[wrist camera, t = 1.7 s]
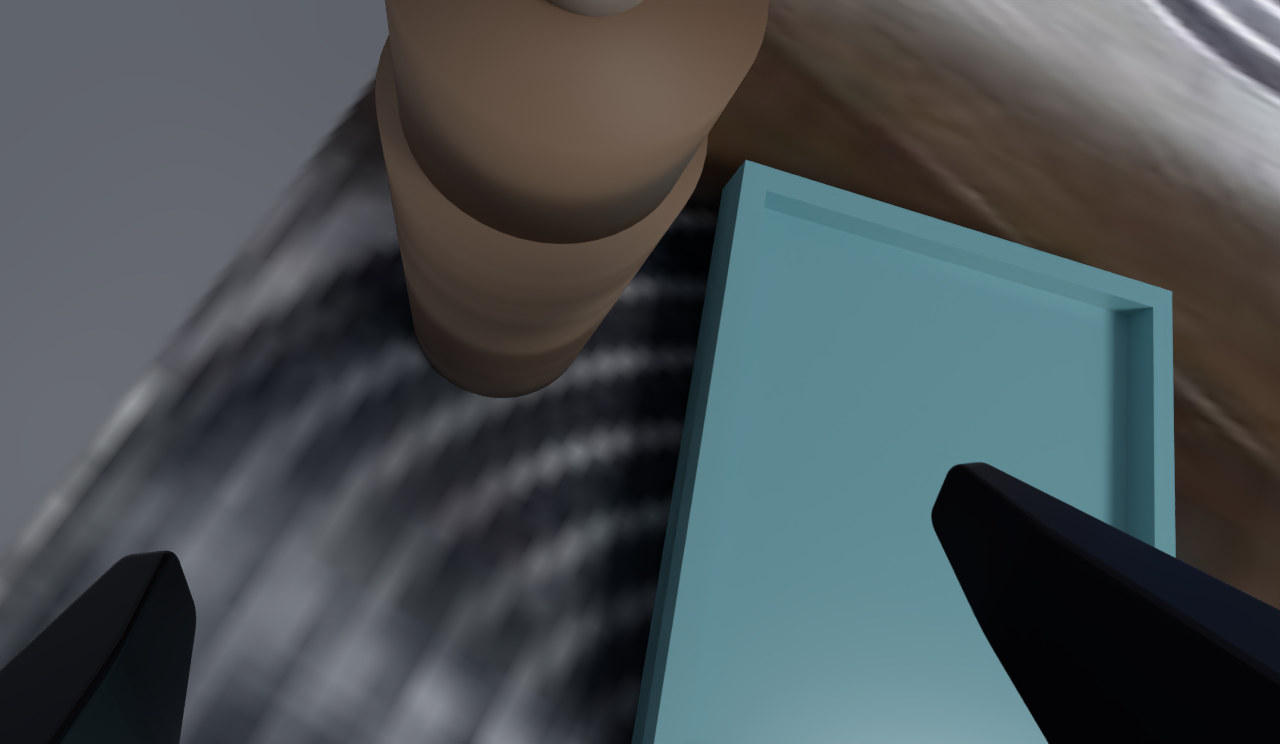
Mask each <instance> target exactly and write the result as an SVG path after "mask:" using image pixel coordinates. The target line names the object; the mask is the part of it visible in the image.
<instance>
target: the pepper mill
mask: <svg viewBox="0 0 1280 744" xmlns="http://www.w3.org/2000/svg"><path fill="white" fill-rule="evenodd" d="M385 4H386V11H387V20H388V28H389V36H388V38H387V40H386V43H385V45H384V48H383V50H382V53H381V56H380V61H379V65H378V69H377V74H376V87H375V100H376V112H377V119H378V125H379V131H380V137H381V142H382V148H383V154H384V159H385V165H386V171H387V177H388V182H389V188H390V194H391V199H392V205H393V211H394V217H395V222H396V228H397V234H398V239H399V245H400V251H401V257H402V262H403V268H404V274H405V279H406V285H407V291H408V297H409V302H410V308H411V314H412V319H413V325H414V330H415V334H416V337H417V340H418V343H419V345H420V348H421V349H422V351H423V353H424V355H425V357H426V358H427V359H428V361H429V362H430V363H431V365H432V366H433V367H434V368H435V369H436V370H437V371H438V372H439V373H440V374H441V375H442V376H443V377H444V378H446V379H447V380H448V381H450V382H451V383H453V384H454V385H456V386H458V387H460V388H462V389H464V390H466V391H469V392H471V393H474V394H478V395H481V396H487V397H493V398H510V397H518V396H523V395H527V394H530V393H533V392H536V391H538V390H540V389H542V388H544V387H546V386H548V385H549V384H551V383H552V382H554V381H555V380H556V379H558V378H559V377H560V376H561V375H562V374H563V373H564V372H565V371H566V370H567V369H568V367H569V366H570V365H571V364H572V362H573V361H574V360H575V358H576V357H577V355H578V354H579V353H580V351H581V350H582V348H583V347H584V346H585V344H586V343H587V341H588V340H589V339H590V337H591V336H592V334H593V333H594V332H595V330H596V329H597V327H598V326H599V325H600V323H601V322H602V320H603V319H604V318H605V316H606V315H607V313H608V312H609V311H610V309H611V308H612V307H613V305H614V304H615V302H616V301H617V300H618V298H619V297H620V295H621V294H622V293H623V291H624V290H625V288H626V287H627V286H628V284H629V283H630V281H631V280H632V279H633V277H634V276H635V274H636V273H637V272H638V270H639V269H640V267H641V266H642V265H643V263H644V262H645V260H646V259H647V258H648V256H649V255H650V254H651V252H652V251H653V249H654V248H655V247H656V245H657V244H658V242H659V241H660V240H661V238H662V237H663V235H664V234H665V233H666V231H667V230H668V228H669V227H670V226H671V224H672V223H673V221H674V220H675V219H676V217H677V216H678V214H679V213H680V212H681V210H682V209H683V207H684V206H685V205H686V203H687V201H688V200H689V198H690V196H691V195H692V193H693V191H694V190H695V187H696V185H697V183H698V180H699V178H700V175H701V173H702V169H703V165H704V161H705V157H706V152H707V143H708V133H709V131H710V130H711V128H712V127H713V125H714V124H715V122H716V120H717V119H718V117H719V116H720V114H721V113H722V111H723V110H724V108H725V107H726V105H727V103H728V102H729V100H730V99H731V97H732V96H733V94H734V93H735V91H736V89H737V88H738V86H739V85H740V83H741V82H742V80H743V79H744V77H745V75H746V74H747V72H748V71H749V69H750V67H751V66H752V64H753V62H754V61H755V58H756V56H757V54H758V51H759V49H760V46H761V44H762V41H763V37H764V33H765V29H766V25H767V18H768V6H769V0H385Z"/></svg>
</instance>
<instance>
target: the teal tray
mask: <svg viewBox="0 0 1280 744" xmlns="http://www.w3.org/2000/svg"><path fill="white" fill-rule="evenodd" d="M972 462H983V463H987V464H989V465H991V466H993V467H995V468H997V469H999V470H1001V471H1003V472H1005V473H1007V474H1009V475H1011V476H1013V477H1015V478H1017V479H1019V480H1021V481H1023V482H1025V483H1027V484H1029V485H1031V486H1033V487H1035V488H1037V489H1039V490H1041V491H1043V492H1045V493H1047V494H1049V495H1051V496H1053V497H1055V498H1057V499H1059V500H1061V501H1063V502H1065V503H1067V504H1069V505H1071V506H1073V507H1075V508H1077V509H1079V510H1081V511H1083V512H1085V513H1087V514H1089V515H1091V516H1093V517H1095V518H1097V519H1099V520H1101V521H1103V522H1105V523H1107V524H1109V525H1111V526H1113V527H1115V528H1117V529H1119V530H1121V531H1123V532H1125V533H1127V534H1129V535H1131V536H1133V537H1135V538H1137V539H1139V540H1141V541H1143V542H1145V543H1147V544H1149V545H1151V546H1153V547H1155V548H1157V549H1159V550H1161V551H1163V552H1165V553H1167V554H1169V555H1171V556H1173V557H1175V483H1174V410H1173V336H1172V291H1169V290H1166V289H1162V288H1159V287H1156V286H1153V285H1149V284H1146V283H1143V282H1140V281H1136V280H1133V279H1130V278H1127V277H1123V276H1120V275H1117V274H1114V273H1111V272H1107V271H1104V270H1101V269H1098V268H1094V267H1091V266H1088V265H1085V264H1081V263H1078V262H1075V261H1072V260H1068V259H1065V258H1062V257H1059V256H1055V255H1052V254H1049V253H1046V252H1043V251H1039V250H1036V249H1033V248H1030V247H1026V246H1023V245H1020V244H1017V243H1013V242H1010V241H1007V240H1004V239H1000V238H997V237H994V236H991V235H988V234H984V233H981V232H978V231H975V230H971V229H968V228H965V227H962V226H958V225H955V224H952V223H949V222H945V221H942V220H939V219H936V218H932V217H929V216H926V215H923V214H920V213H916V212H913V211H910V210H907V209H903V208H900V207H897V206H894V205H890V204H887V203H884V202H881V201H877V200H874V199H871V198H868V197H864V196H861V195H858V194H855V193H852V192H848V191H845V190H842V189H839V188H835V187H832V186H829V185H826V184H822V183H819V182H816V181H813V180H809V179H806V178H803V177H800V176H796V175H793V174H790V173H787V172H784V171H780V170H777V169H774V168H771V167H767V166H764V165H761V164H758V163H754V162H751V161H748V160H745V161H744V163H743V164H742V165H741V166H740V168H739V169H738V170H737V171H736V173H735V174H734V175H733V177H732V178H731V179H730V180H729V182H728V183H727V184H726V185H725V187H724V188H723V189H722V195H721V202H720V208H719V214H718V220H717V226H716V232H715V238H714V244H713V250H712V256H711V262H710V268H709V274H708V281H707V287H706V293H705V299H704V305H703V311H702V317H701V323H700V329H699V335H698V341H697V347H696V353H695V360H694V366H693V372H692V378H691V384H690V390H689V396H688V402H687V408H686V414H685V420H684V426H683V432H682V439H681V445H680V451H679V457H678V463H677V469H676V475H675V481H674V487H673V493H672V499H671V505H670V511H669V517H668V524H667V530H666V536H665V542H664V548H663V554H662V560H661V566H660V572H659V578H658V584H657V590H656V596H655V603H654V609H653V615H652V621H651V627H650V633H649V639H648V645H647V651H646V657H645V663H644V669H643V675H642V682H641V688H640V694H639V700H638V706H637V712H636V718H635V724H634V730H633V736H632V742H631V744H1048V742H1047V741H1046V739H1045V737H1044V736H1043V734H1042V732H1041V731H1040V729H1039V727H1038V725H1037V724H1036V722H1035V720H1034V719H1033V717H1032V715H1031V714H1030V712H1029V710H1028V709H1027V707H1026V705H1025V704H1024V702H1023V700H1022V698H1021V697H1020V695H1019V693H1018V692H1017V690H1016V688H1015V687H1014V685H1013V683H1012V682H1011V680H1010V678H1009V676H1008V675H1007V673H1006V671H1005V670H1004V668H1003V666H1002V665H1001V663H1000V661H999V660H998V658H997V656H996V654H995V653H994V651H993V649H992V648H991V646H990V644H989V642H988V640H987V639H986V637H985V635H984V633H983V632H982V630H981V628H980V626H979V624H978V622H977V620H976V618H975V616H974V614H973V611H972V609H971V607H970V605H969V603H968V601H967V599H966V597H965V594H964V592H963V590H962V588H961V586H960V584H959V582H958V580H957V577H956V575H955V573H954V571H953V569H952V567H951V565H950V563H949V561H948V558H947V556H946V554H945V552H944V550H943V548H942V546H941V544H940V541H939V539H938V537H937V535H936V533H935V531H934V528H933V525H932V521H931V512H932V508H933V505H934V503H935V501H936V498H937V496H938V494H939V491H940V489H941V486H942V484H943V482H944V479H945V477H946V475H947V473H948V471H949V469H950V468H952V467H953V466H954V465H957V464H963V463H972ZM1175 558H1176V557H1175Z"/></svg>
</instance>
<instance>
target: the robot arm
mask: <svg viewBox="0 0 1280 744" xmlns="http://www.w3.org/2000/svg"><path fill="white" fill-rule="evenodd" d="M931 521H932V525H933V528H934V531H935V533H936V535H937V537H938V539H939V541H940V544H941V546H942V548H943V550H944V552H945V554H946V556H947V558H948V561H949V563H950V565H951V567H952V569H953V571H954V573H955V575H956V577H957V580H958V582H959V584H960V586H961V588H962V590H963V592H964V594H965V597H966V599H967V601H968V603H969V605H970V607H971V609H972V611H973V614H974V616H975V618H976V620H977V622H978V624H979V626H980V628H981V630H982V632H983V633H984V635H985V637H986V639H987V640H988V642H989V644H990V646H991V648H992V649H993V651H994V653H995V654H996V656H997V658H998V660H999V661H1000V663H1001V665H1002V666H1003V668H1004V670H1005V671H1006V673H1007V675H1008V676H1009V678H1010V680H1011V682H1012V683H1013V685H1014V687H1015V688H1016V690H1017V692H1018V693H1019V695H1020V697H1021V698H1022V700H1023V702H1024V704H1025V705H1026V707H1027V709H1028V710H1029V712H1030V714H1031V715H1032V717H1033V719H1034V720H1035V722H1036V724H1037V725H1038V727H1039V729H1040V731H1041V732H1042V734H1043V736H1044V737H1045V739H1046V741H1047V742H1048V744H1280V610H1279V609H1277V608H1275V607H1273V606H1271V605H1269V604H1267V603H1265V602H1263V601H1261V600H1259V599H1257V598H1255V597H1253V596H1251V595H1249V594H1247V593H1245V592H1243V591H1241V590H1239V589H1237V588H1235V587H1233V586H1231V585H1229V584H1227V583H1225V582H1223V581H1221V580H1219V579H1217V578H1215V577H1213V576H1211V575H1209V574H1207V573H1205V572H1203V571H1201V570H1199V569H1197V568H1195V567H1193V566H1191V565H1189V564H1187V563H1185V562H1183V561H1181V560H1179V559H1177V558H1175V557H1173V556H1171V555H1169V554H1167V553H1165V552H1163V551H1161V550H1159V549H1157V548H1155V547H1153V546H1151V545H1149V544H1147V543H1145V542H1143V541H1141V540H1139V539H1137V538H1135V537H1133V536H1131V535H1129V534H1127V533H1125V532H1123V531H1121V530H1119V529H1117V528H1115V527H1113V526H1111V525H1109V524H1107V523H1105V522H1103V521H1101V520H1099V519H1097V518H1095V517H1093V516H1091V515H1089V514H1087V513H1085V512H1083V511H1081V510H1079V509H1077V508H1075V507H1073V506H1071V505H1069V504H1067V503H1065V502H1063V501H1061V500H1059V499H1057V498H1055V497H1053V496H1051V495H1049V494H1047V493H1045V492H1043V491H1041V490H1039V489H1037V488H1035V487H1033V486H1031V485H1029V484H1027V483H1025V482H1023V481H1021V480H1019V479H1017V478H1015V477H1013V476H1011V475H1009V474H1007V473H1005V472H1003V471H1001V470H999V469H997V468H995V467H993V466H991V465H989V464H987V463H983V462H972V463H963V464H957V465H954V466H953V467H952V468H950V469H949V471H948V473H947V475H946V477H945V479H944V482H943V484H942V486H941V489H940V491H939V494H938V496H937V498H936V501H935V503H934V505H933V508H932V512H931ZM195 630H196V610H195V605H194V601H193V598H192V596H191V593H190V590H189V587H188V584H187V581H186V578H185V576H184V573H183V570H182V567H181V564H180V561H179V559H178V557H177V556H176V555H175V554H174V553H173V552H171V551H157V552H148V553H139V554H131V555H128V556H125V557H123V558H122V559H120V560H119V561H118V562H116V563H115V564H114V565H113V566H112V567H111V568H110V569H109V570H108V571H107V572H105V573H104V574H103V575H102V576H101V577H100V578H99V579H98V580H97V581H96V582H95V583H94V584H92V585H91V586H90V587H89V588H88V589H87V590H86V591H85V592H84V593H83V594H82V595H81V596H79V597H78V598H77V599H76V600H75V601H74V602H73V603H72V604H71V605H70V606H69V607H68V608H66V609H65V610H64V611H63V612H62V613H61V614H60V615H59V616H58V617H57V618H56V619H55V620H53V621H52V622H51V623H50V624H49V625H48V626H47V627H46V628H45V629H44V630H43V631H42V632H41V633H39V634H38V635H37V636H36V637H35V638H34V639H33V640H32V641H31V642H30V643H29V644H28V645H26V646H25V647H24V648H23V649H22V650H21V651H20V652H19V653H18V654H17V655H16V656H15V657H13V658H12V659H11V660H10V661H9V662H8V663H7V664H6V665H5V666H4V667H3V668H2V669H0V744H179V741H180V734H181V727H182V720H183V714H184V707H185V700H186V693H187V686H188V679H189V672H190V665H191V658H192V651H193V644H194V637H195Z"/></svg>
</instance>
